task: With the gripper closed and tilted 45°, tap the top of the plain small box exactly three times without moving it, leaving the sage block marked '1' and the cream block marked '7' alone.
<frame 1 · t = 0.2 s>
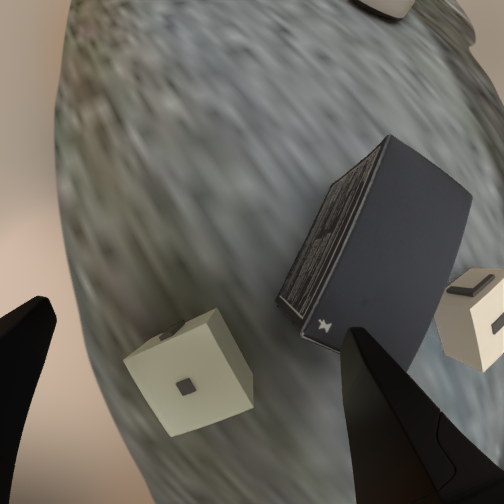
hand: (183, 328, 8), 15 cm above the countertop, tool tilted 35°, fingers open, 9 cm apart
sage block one: (201, 356, 22), on the countertop
small box: (339, 259, 23), on the countertop
cream block seven: (458, 311, 23), on the countertop
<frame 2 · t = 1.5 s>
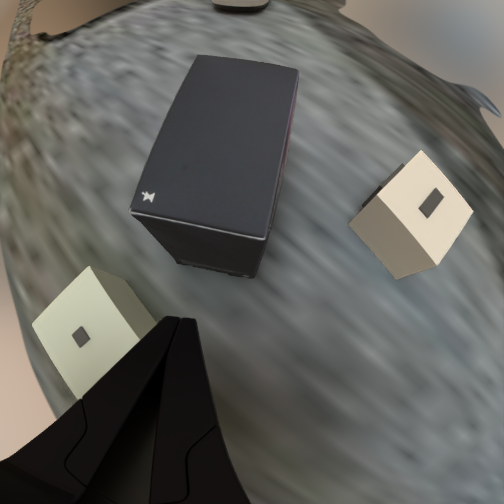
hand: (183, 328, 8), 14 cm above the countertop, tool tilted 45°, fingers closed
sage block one: (120, 334, 21), on the countertop
small box: (232, 207, 23), on the countertop
cream block seven: (393, 229, 23), on the countertop
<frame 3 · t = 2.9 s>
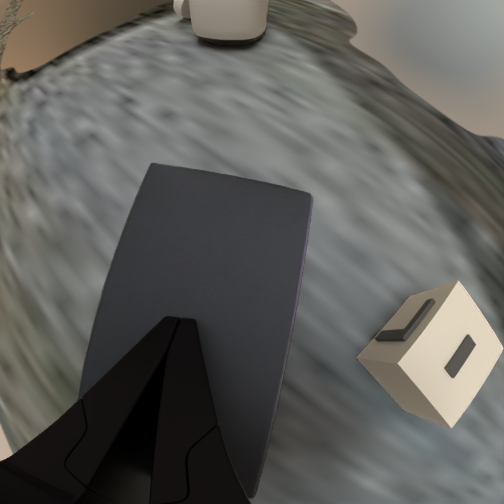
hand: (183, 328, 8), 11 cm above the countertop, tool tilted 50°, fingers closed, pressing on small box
small box: (215, 342, 18), on the countertop, touching gripper
cream block seven: (408, 354, 18), on the countertop
spread jar: (219, 27, 28), on the countertop
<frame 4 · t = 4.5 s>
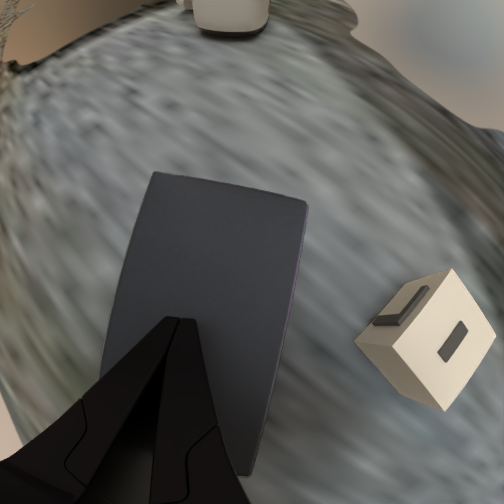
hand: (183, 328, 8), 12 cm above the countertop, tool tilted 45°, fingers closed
small box: (219, 325, 20), on the countertop
cream block seven: (404, 339, 19), on the countertop
spread jar: (221, 19, 27), on the countertop
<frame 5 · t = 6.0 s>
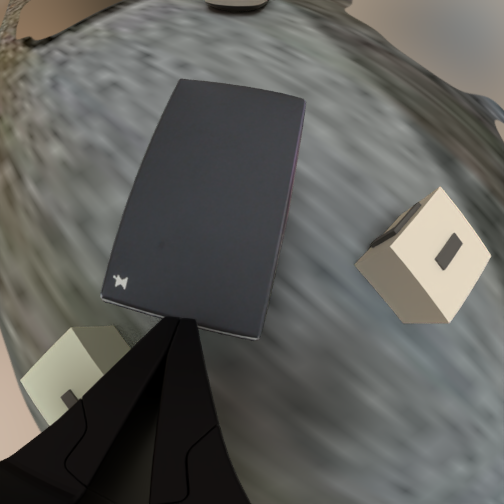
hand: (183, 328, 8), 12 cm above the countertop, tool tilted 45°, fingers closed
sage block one: (112, 381, 19), on the countertop
small box: (226, 247, 21), on the countertop
cream block seven: (403, 267, 21), on the countertop
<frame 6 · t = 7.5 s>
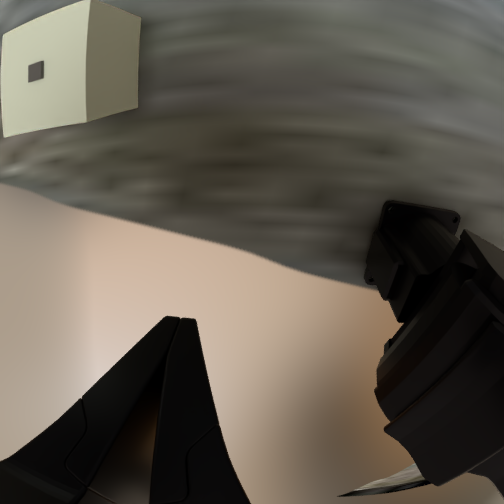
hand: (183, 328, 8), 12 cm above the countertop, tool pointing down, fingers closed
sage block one: (97, 68, 14), on the countertop
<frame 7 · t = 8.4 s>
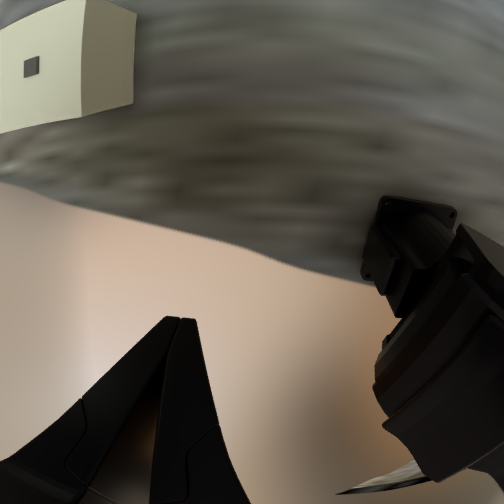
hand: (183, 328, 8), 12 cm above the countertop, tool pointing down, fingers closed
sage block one: (92, 64, 14), on the countertop
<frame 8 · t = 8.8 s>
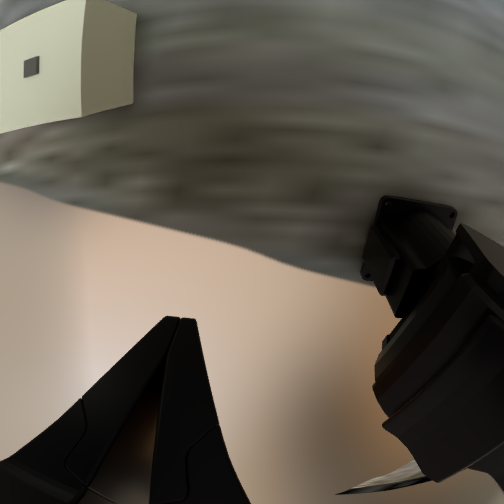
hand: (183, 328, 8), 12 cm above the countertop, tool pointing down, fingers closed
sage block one: (92, 64, 14), on the countertop
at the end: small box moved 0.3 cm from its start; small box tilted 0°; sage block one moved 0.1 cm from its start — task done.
